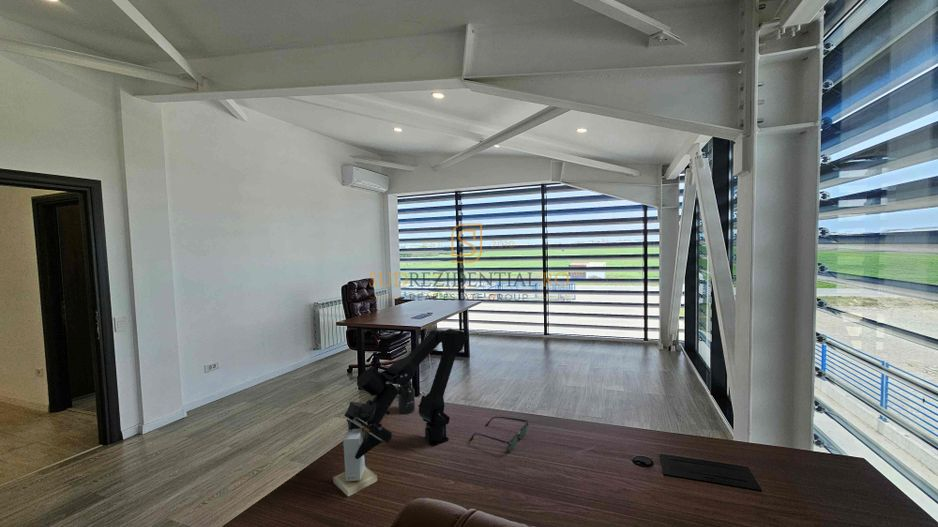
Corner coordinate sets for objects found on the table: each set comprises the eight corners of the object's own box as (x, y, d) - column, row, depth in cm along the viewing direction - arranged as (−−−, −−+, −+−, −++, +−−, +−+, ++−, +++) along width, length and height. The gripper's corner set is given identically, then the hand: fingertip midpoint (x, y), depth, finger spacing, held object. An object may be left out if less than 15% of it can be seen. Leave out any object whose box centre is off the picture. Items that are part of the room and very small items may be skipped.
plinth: (361, 468, 110) (361, 463, 110) (377, 480, 103) (377, 475, 103) (333, 482, 103) (333, 477, 103) (348, 496, 97) (347, 491, 97)
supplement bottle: (411, 414, 145) (410, 385, 144) (395, 413, 146) (394, 385, 146) (417, 407, 151) (416, 379, 151) (402, 406, 153) (401, 378, 152)
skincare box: (360, 480, 101) (359, 439, 100) (344, 481, 100) (342, 440, 100) (365, 467, 107) (363, 427, 106) (350, 468, 106) (348, 428, 106)
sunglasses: (488, 423, 136) (488, 410, 136) (530, 434, 127) (530, 420, 127) (465, 444, 122) (465, 429, 122) (510, 457, 113) (510, 442, 113)
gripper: (348, 382, 112) (315, 431, 105) (380, 398, 99) (344, 455, 91) (372, 399, 118) (342, 446, 110) (405, 416, 105) (374, 470, 97)
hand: (349, 453), depth 102 cm, fingers closed on skincare box, 7 cm apart
